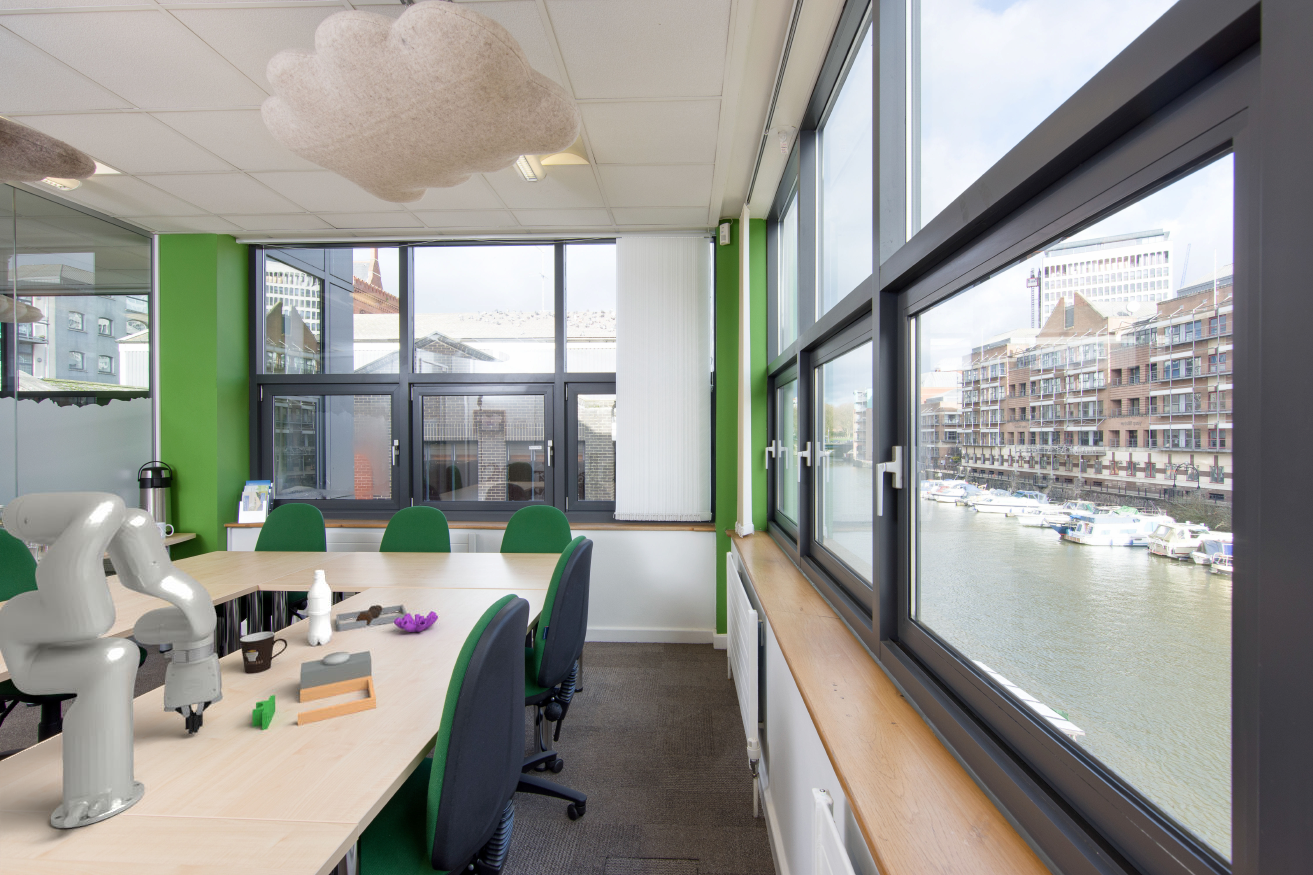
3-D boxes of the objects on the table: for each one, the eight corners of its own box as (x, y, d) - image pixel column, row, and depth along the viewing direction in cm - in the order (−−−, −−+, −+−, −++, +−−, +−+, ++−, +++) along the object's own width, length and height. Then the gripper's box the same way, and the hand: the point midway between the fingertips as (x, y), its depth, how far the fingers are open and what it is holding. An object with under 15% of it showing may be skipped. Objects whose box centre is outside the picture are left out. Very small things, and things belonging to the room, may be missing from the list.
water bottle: (337, 640, 195) (336, 568, 196) (319, 647, 188) (318, 573, 189) (320, 638, 197) (319, 567, 198) (302, 646, 190) (301, 572, 191)
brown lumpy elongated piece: (380, 618, 225) (365, 629, 210) (368, 612, 224) (353, 623, 209) (388, 604, 225) (374, 615, 210) (376, 599, 225) (361, 609, 210)
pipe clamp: (258, 714, 143) (258, 697, 143) (275, 711, 144) (275, 694, 144) (249, 732, 133) (249, 714, 133) (267, 729, 135) (267, 711, 135)
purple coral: (437, 639, 204) (435, 623, 199) (393, 644, 200) (389, 627, 195) (440, 613, 213) (438, 597, 208) (397, 617, 209) (394, 601, 204)
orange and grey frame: (375, 707, 145) (375, 674, 145) (297, 725, 136) (297, 690, 136) (369, 674, 166) (369, 645, 166) (301, 687, 157) (301, 657, 157)
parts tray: (407, 620, 217) (407, 613, 217) (337, 631, 205) (336, 624, 205) (402, 610, 229) (402, 604, 229) (336, 620, 217) (336, 614, 217)
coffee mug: (233, 673, 168) (232, 640, 168) (259, 662, 176) (259, 630, 176) (264, 677, 165) (264, 643, 165) (289, 665, 173) (289, 633, 174)
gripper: (147, 664, 125) (147, 747, 125) (230, 651, 133) (231, 729, 133) (156, 654, 132) (156, 732, 131) (235, 641, 139) (235, 715, 139)
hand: (194, 730), depth 132 cm, fingers closed
